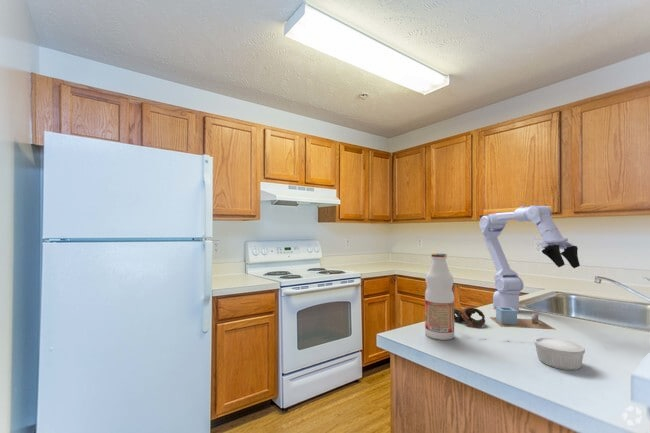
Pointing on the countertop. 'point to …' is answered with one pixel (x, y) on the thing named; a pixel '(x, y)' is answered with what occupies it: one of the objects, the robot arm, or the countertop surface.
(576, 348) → the ramekin
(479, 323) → the brown curled shape
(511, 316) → the collar
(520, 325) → the stub board
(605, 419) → the countertop surface
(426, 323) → the fruit juice
